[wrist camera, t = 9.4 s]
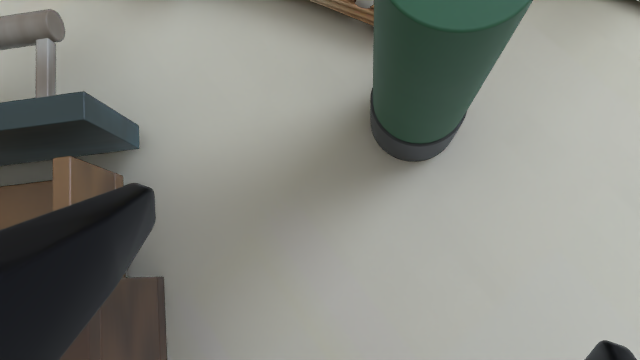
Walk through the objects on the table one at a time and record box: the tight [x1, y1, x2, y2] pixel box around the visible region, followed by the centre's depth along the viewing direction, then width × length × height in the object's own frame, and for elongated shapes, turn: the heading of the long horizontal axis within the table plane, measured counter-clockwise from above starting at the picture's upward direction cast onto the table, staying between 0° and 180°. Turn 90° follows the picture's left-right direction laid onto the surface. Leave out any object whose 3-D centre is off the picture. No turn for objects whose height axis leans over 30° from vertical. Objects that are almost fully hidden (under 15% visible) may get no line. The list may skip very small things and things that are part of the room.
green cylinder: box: [370, 0, 533, 161], centre depth 18 cm, size 4×4×13 cm
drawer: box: [0, 9, 139, 278], centre depth 22 cm, size 17×10×5 cm, turn 6°
